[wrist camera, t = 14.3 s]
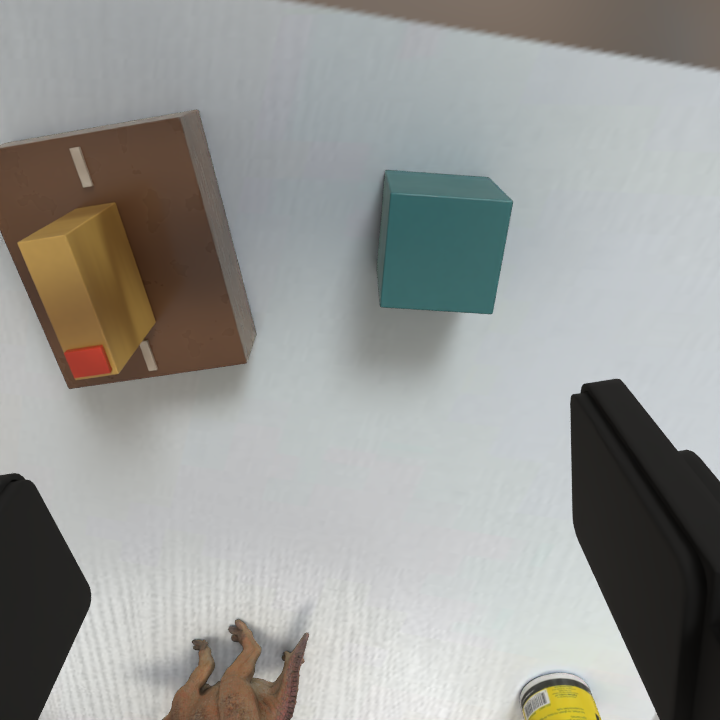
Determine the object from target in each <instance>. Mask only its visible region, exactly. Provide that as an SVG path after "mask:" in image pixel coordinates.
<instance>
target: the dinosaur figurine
mask: <svg viewBox="0 0 720 720" xmlns="http://www.w3.org/2000/svg"><path fill="white" fill-rule="evenodd" d="M235 624H236V626H237V627H234V626H230V627H229V628H228V630H229V632H230V633H232V634H233V635H232V637H231V639H232V641H234V642H240V644H241V645H242V646H243V651H242V652H241V654H240V655H239V656H238V657H237V659H236V660H235V661H234V662H233V664H232V665H231V666H230V667H229V668H227V670H226V671H225V673H224V675H223V677H222V679H221V681H219V682H217V683H216V684H215V685H213V686H210V685H209V684H206V682H207V680H208V678H209V676H210V675H211V674H212V672H213V670H214V668H215V662H214V660H213V657H212V655H211V649H210V648H209V647H208V642H206V641H205V640H203V641H201V640H193V641H192V643H193V644H194V645H195V646H193V649H194V650H200V651H199V663H198V667H196V668H195V670H194V671H193V673H192V674H191V675H190V677H189V680H188V681H187V682H186V684H185V685H184V686H182V687H181V688H180V689H179V690H178V691H177V692H176V694H175V696H174V699H173V701H172V707H171V710H170V712H169V714H168V715H167V716H166V717H164V718H163V719H162V720H290V719H291V718H292V716H293V712H294V708H295V705H296V698H297V692H298V684H299V676H300V675H299V670H300V666H301V664H303V663H304V662H305V661H304V659H303V656H304V651H305V648H306V644H307V640H308V637H309V633H305V634H304V635H303V637H302V638H301V640H300V641H299V643H298V644H297V646H296V648H295V649H294V650H293V651H292V652H291V653H289V652H287V651H285V652H284V655H283V656H282V660H283V661H285V663H284V667H283V671H282V673H281V674H280V676H279V677H278V678H277V680H276V681H275V682H273V683H272V682H268V681H266V680H264V679H259V678H253V675H254V672H255V663H256V661H257V659H258V657H259V656H260V654H261V647H260V646H259V645H258V643H257V642H256V641H255V639H254V638H253V634H252V631H251V630H249V629H248V628H247V626H246V625H245V623H243V622H242V621H241V620H235Z"/></svg>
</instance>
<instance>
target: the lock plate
mask: <svg viewBox="0 0 720 720" xmlns="http://www.w3.org/2000/svg"><path fill="white" fill-rule="evenodd" d="M113 202H115V203H116V206H117V209H118V212H119V214H120V217H121V220H122V223H123V226H124V229H125V232H126V235H127V238H128V241H129V244H130V247H131V250H132V253H133V256H134V259H135V262H136V265H137V268H138V271H139V274H140V277H141V279H142V282H143V285H144V288H145V291H146V294H147V297H148V300H149V303H150V306H151V309H152V312H153V315H154V318H155V321H156V323H155V324H154V326H153V327H152V328H151V330H150V331H149V333H148V334H147V335H146V337H145V338H144V340H143V341H142V342H141V344H140V345H139V346H138V348H137V349H136V351H135V352H134V353H133V355H132V356H131V357H130V359H129V360H128V362H127V363H126V364H125V366H124V367H123V369H122V370H121V371H120V373H119V374H115V375H108V376H101V377H94V378H87V379H81V380H75V378H74V376H73V374H72V372H71V369H70V367H69V365H68V362H67V360H66V357H65V355H64V352H63V350H62V348H61V345H60V343H59V340H58V338H57V336H56V333H55V331H54V329H53V326H52V324H51V322H50V319H49V317H48V315H47V312H46V310H45V307H44V305H43V303H42V300H41V298H40V296H39V293H38V291H37V289H36V286H35V284H34V282H33V279H32V277H31V274H30V272H29V270H28V267H27V265H26V263H25V260H24V258H23V256H22V253H21V251H20V249H19V246H18V242H19V241H21V240H23V239H24V238H26V237H28V236H30V235H31V234H33V233H35V232H36V231H38V230H40V229H42V228H43V227H45V226H47V225H49V224H50V223H52V222H54V221H55V220H57V219H59V218H61V217H62V216H64V215H66V214H67V213H69V212H71V211H73V210H74V209H77V208H83V207H89V206H95V205H101V204H107V203H113ZM0 231H1V233H2V236H3V238H4V240H5V243H6V245H7V247H8V250H9V252H10V254H11V256H12V259H13V261H14V263H15V266H16V268H17V270H18V273H19V275H20V277H21V280H22V282H23V284H24V286H25V289H26V291H27V293H28V296H29V298H30V300H31V303H32V305H33V307H34V310H35V312H36V314H37V317H38V319H39V321H40V323H41V326H42V328H43V330H44V333H45V335H46V337H47V340H48V342H49V344H50V347H51V349H52V351H53V353H54V356H55V358H56V360H57V363H58V365H59V367H60V370H61V372H62V374H63V377H64V379H65V381H66V384H67V386H68V388H69V389H73V388H80V387H87V386H93V385H100V384H107V383H114V382H121V381H128V380H135V379H142V378H149V377H156V376H163V375H169V374H176V373H183V372H190V371H197V370H204V369H211V368H218V367H225V366H232V365H238V364H245V363H247V360H248V357H249V355H250V352H251V349H252V346H253V343H254V340H255V337H256V330H255V326H254V322H253V318H252V315H251V311H250V307H249V303H248V299H247V295H246V291H245V288H244V284H243V280H242V276H241V272H240V268H239V264H238V261H237V257H236V253H235V249H234V245H233V241H232V237H231V233H230V230H229V226H228V222H227V218H226V214H225V210H224V206H223V203H222V199H221V195H220V191H219V187H218V183H217V179H216V176H215V172H214V168H213V164H212V160H211V156H210V152H209V149H208V145H207V141H206V137H205V133H204V129H203V125H202V122H201V118H200V114H199V111H198V110H191V111H186V112H180V113H174V114H169V115H163V116H157V117H151V118H146V119H140V120H134V121H128V122H123V123H117V124H111V125H105V126H100V127H94V128H88V129H82V130H77V131H71V132H65V133H59V134H54V135H48V136H42V137H36V138H31V139H25V140H19V141H13V142H8V143H4V144H1V145H0Z"/></svg>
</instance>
